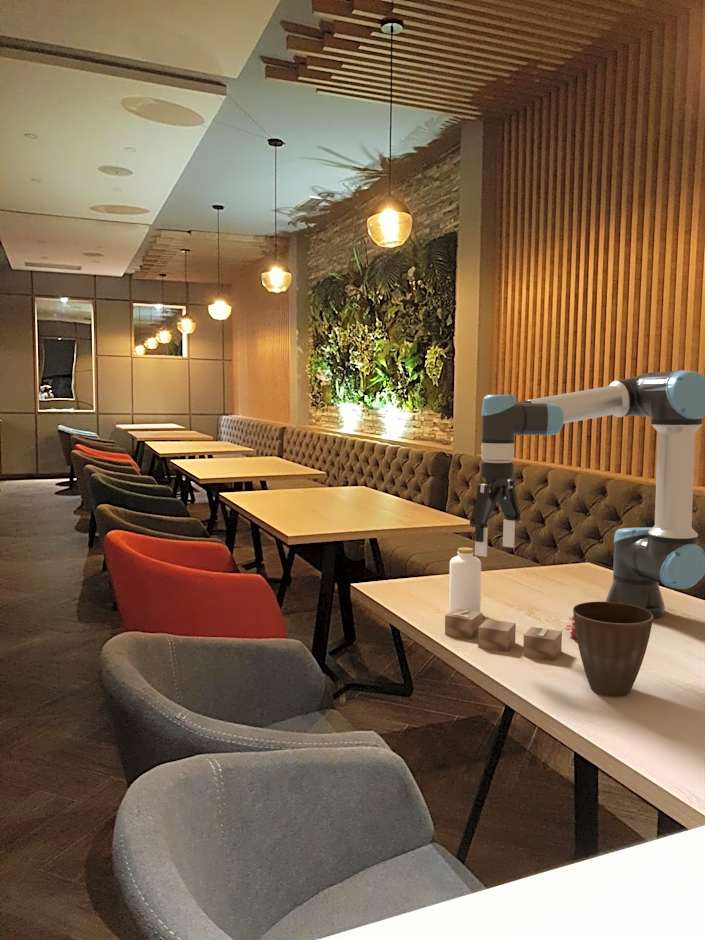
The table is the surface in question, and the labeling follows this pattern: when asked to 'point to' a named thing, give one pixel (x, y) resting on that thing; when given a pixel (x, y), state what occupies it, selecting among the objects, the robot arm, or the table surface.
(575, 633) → the flower
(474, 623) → the marked block seven
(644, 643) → the plant pot
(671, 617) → the table surface
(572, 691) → the table surface
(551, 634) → the marked block one
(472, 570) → the potion bottle
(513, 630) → the plain block
